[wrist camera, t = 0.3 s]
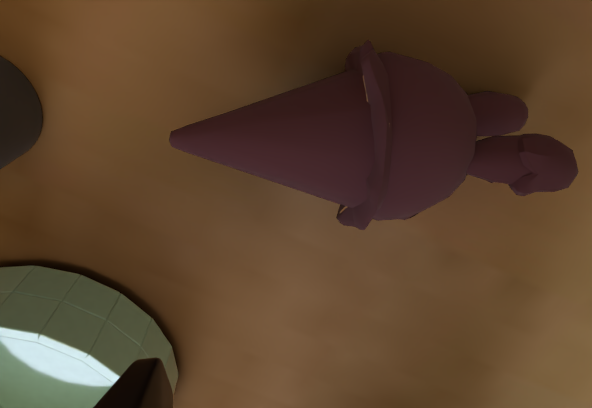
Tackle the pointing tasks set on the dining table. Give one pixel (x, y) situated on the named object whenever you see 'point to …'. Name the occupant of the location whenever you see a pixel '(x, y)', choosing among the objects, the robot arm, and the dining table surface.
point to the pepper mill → (17, 113)
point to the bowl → (69, 339)
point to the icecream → (382, 139)
